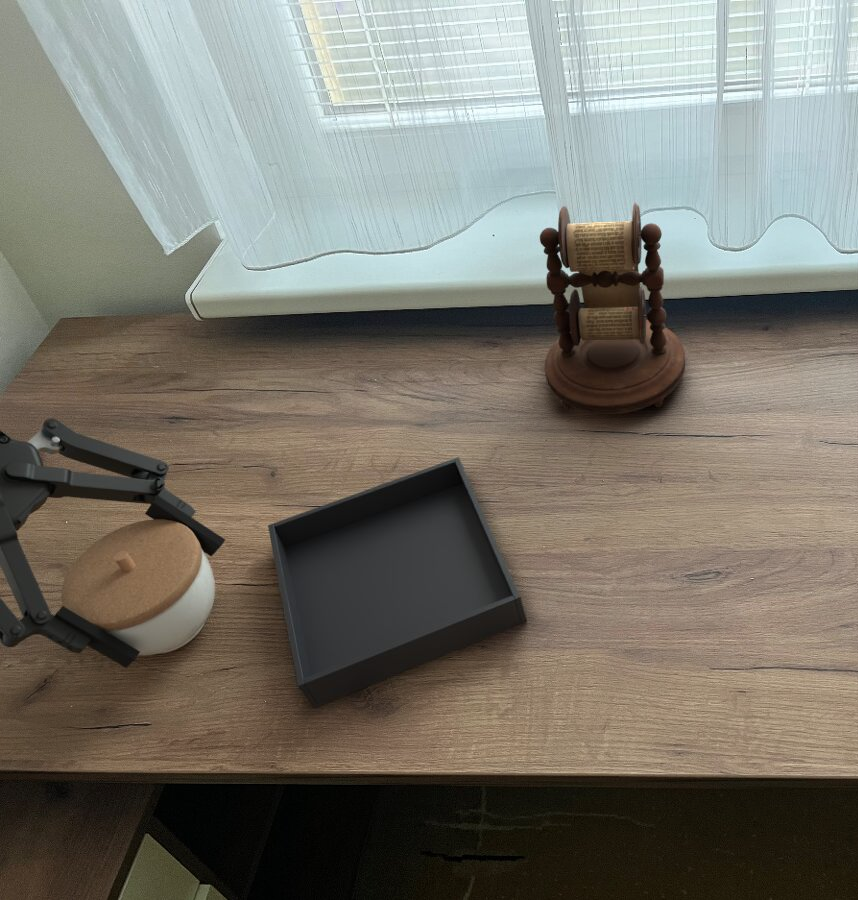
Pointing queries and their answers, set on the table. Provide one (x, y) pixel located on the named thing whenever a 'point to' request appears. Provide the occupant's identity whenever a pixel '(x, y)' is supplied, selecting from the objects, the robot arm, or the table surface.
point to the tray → (390, 581)
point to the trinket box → (144, 585)
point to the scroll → (609, 317)
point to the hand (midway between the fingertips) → (178, 601)
